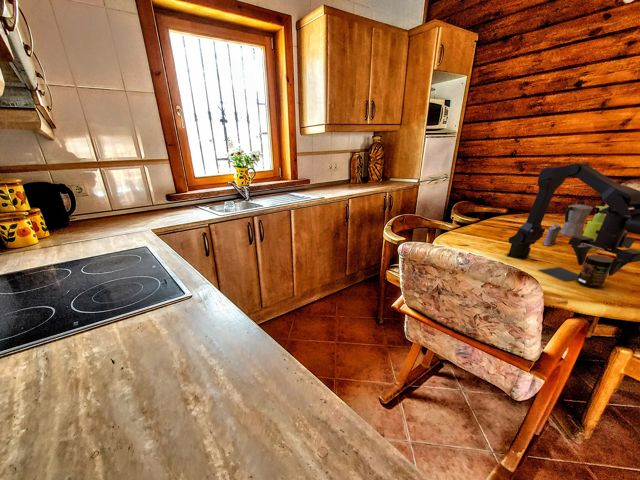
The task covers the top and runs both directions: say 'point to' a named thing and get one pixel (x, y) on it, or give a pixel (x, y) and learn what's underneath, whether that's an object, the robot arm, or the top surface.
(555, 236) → the flask
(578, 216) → the coffeepot
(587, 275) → the supplement container
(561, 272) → the mat
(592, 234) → the soap dispenser
